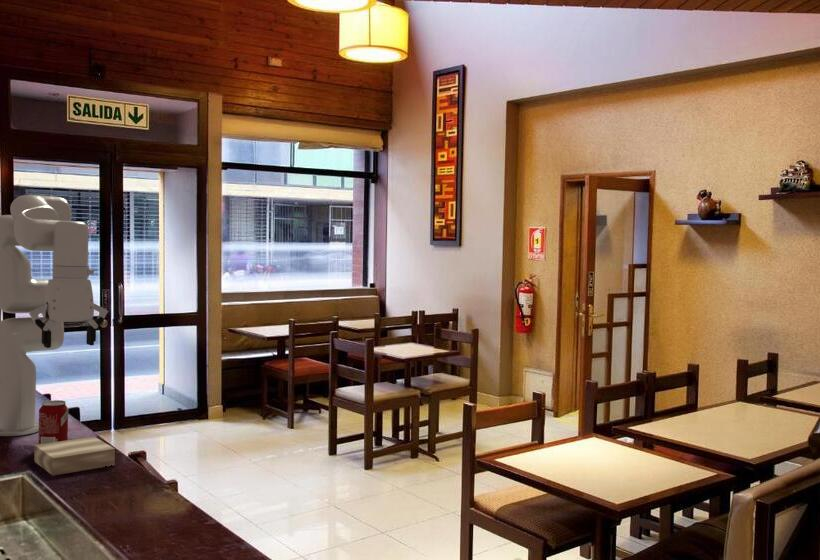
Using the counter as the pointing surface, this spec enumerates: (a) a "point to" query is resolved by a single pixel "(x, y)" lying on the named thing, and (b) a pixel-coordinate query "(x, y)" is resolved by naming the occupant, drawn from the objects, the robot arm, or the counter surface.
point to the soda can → (53, 422)
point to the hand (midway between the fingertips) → (69, 346)
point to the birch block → (74, 455)
